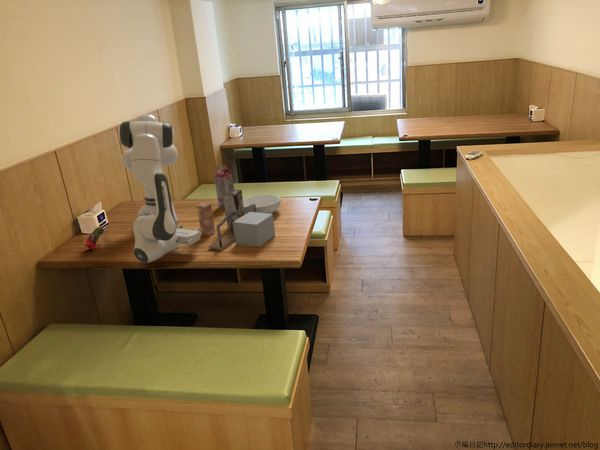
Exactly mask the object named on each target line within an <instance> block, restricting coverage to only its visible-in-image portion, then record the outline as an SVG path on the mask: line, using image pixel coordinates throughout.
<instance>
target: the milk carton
mask: <svg viewBox="0 0 600 450" xmlns="http://www.w3.org/2000/svg"><path fill="white" fill-rule="evenodd" d="M227 167H228V166H227V165H216V169H215V170H214V172H213V177H214V184H215V191H216V197H217V203H218V207H219V208H224V209H225V205H224V198H223V196H224V195H225V194H226V193H227V192H228V191H229V190H235V185H234V179H233V172H232V171H233V170H231V169H228V168H227Z"/></svg>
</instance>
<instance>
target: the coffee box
mask: <svg viewBox="0 0 600 450" xmlns="http://www.w3.org/2000/svg"><path fill="white" fill-rule="evenodd" d="M223 198H224V205H225V208H224V210H225V212H224V213H225V217H226V216H227V215H228V214H229V213H231V212H234V211H236V210H239V209H242V208H244V205H243V199H244V198H243V192H242V189H234V190H229V191H228V192H227V193H226V194H225V195H224V196H223ZM244 215H245V212H244V211H242V212H239V213H237V214H234V215H232V216H231V217H232V224H233V222H234V221H235V220H237V219H239V218H240V217H242V216H244ZM226 225H227V228H228V229H230V222H229V218H228V219H227V220H226ZM233 229H234V226H233Z"/></svg>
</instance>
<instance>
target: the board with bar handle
mask: <svg viewBox="0 0 600 450" xmlns="http://www.w3.org/2000/svg"><path fill="white" fill-rule="evenodd" d="M252 207H253V208H254V212H257V211H256V205H255V204H252V205H249V206H247V207H244V208H242V209H239V210H236V211H234V212H231V213H229V214H228V215H227V216H226V215H225V217H224V218H223V219H222V220H221V221H220V222H218V224H217V225H216V232H217V238H218V239H217V240H216V241H215V242H213V243H211V244H210V245H208V249H209V250H211V251H218V252H221V251H223V250H224V249H226V248H227V247H229V246H230V245H232V244H233V243H236V239H235V232H234V228H233V224H232V217H231V216H232V215H234V214H237V213H239V212H242V211H244V210H247V209H250V208H252ZM228 218H229V222H230V228H229V229H230V232H229V233H227V234H226V235H223V236H222V233H221V227H222V226H223V225H224V224H225V222H227V219H228Z"/></svg>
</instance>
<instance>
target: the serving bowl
mask: <svg viewBox="0 0 600 450" xmlns="http://www.w3.org/2000/svg"><path fill="white" fill-rule="evenodd" d="M281 201H282V199H281V197H280V196H279V195H274V194H257V195H251V196H248V197H245V198H243V205H244V207H247V206H249V205H252V204H255V205H256V211H257V213H268V214H273V213H275V212H276V211H277V210H278V209H279V208H280V206H281ZM244 212H245V214H247V213H249V212H254V208H253V207H252V208H250V209H247V210H244Z"/></svg>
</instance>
